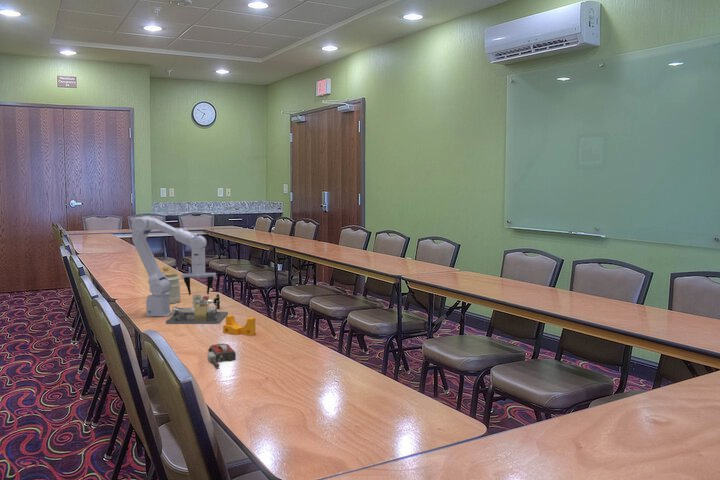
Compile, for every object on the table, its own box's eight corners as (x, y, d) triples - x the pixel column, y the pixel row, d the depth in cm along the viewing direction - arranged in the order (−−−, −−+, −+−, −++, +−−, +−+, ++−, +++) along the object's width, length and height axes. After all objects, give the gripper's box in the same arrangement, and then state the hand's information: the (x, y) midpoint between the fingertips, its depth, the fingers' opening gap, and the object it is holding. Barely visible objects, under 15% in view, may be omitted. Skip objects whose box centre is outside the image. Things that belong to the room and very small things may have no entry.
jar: (185, 301, 290) (184, 266, 288) (161, 305, 281) (160, 268, 279) (172, 298, 299) (171, 263, 297) (147, 301, 290) (146, 266, 288)
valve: (193, 311, 269) (220, 309, 273) (192, 297, 269) (219, 295, 273) (192, 308, 276) (218, 306, 280) (191, 294, 275) (218, 292, 279)
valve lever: (203, 305, 252) (203, 300, 252) (198, 305, 252) (198, 300, 252) (209, 300, 263) (209, 295, 263) (204, 300, 263) (204, 295, 263)
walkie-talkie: (202, 353, 205) (214, 370, 187) (202, 341, 204) (214, 357, 186) (227, 350, 208) (242, 366, 190) (227, 338, 208) (241, 353, 190)
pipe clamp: (223, 333, 231) (223, 317, 230) (230, 330, 235) (229, 314, 234) (248, 336, 226) (248, 320, 225) (255, 334, 230) (255, 317, 229)
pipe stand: (165, 323, 245) (165, 309, 245) (178, 314, 263) (177, 300, 263) (219, 323, 246) (218, 309, 245) (227, 313, 264) (227, 300, 263)
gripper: (180, 265, 253) (181, 296, 254) (215, 264, 257) (216, 295, 258) (181, 263, 260) (181, 293, 261) (215, 262, 263) (215, 292, 265)
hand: (198, 294), depth 260 cm, fingers open, 7 cm apart
